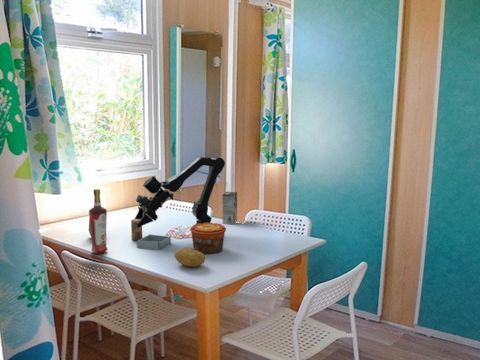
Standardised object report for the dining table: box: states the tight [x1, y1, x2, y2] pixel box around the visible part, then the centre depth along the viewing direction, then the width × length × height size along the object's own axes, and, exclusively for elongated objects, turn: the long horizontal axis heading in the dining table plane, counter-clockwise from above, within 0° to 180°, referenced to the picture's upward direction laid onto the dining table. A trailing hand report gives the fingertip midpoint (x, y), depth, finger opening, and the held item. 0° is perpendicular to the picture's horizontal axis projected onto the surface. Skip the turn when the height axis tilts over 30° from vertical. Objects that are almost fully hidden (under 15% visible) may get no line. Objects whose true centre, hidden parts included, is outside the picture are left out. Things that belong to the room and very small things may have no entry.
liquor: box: [88, 188, 108, 255], centre depth 211 cm, size 7×7×28 cm
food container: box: [189, 222, 227, 255], centre depth 217 cm, size 16×16×11 cm
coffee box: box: [222, 191, 238, 225], centre depth 266 cm, size 9×6×16 cm
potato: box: [174, 247, 206, 268], centre depth 197 cm, size 9×13×7 cm
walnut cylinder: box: [130, 218, 143, 242], centre depth 232 cm, size 5×5×10 cm
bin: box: [136, 234, 172, 251], centre depth 224 cm, size 11×11×3 cm
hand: (135, 224), depth 232 cm, fingers open, 9 cm apart
